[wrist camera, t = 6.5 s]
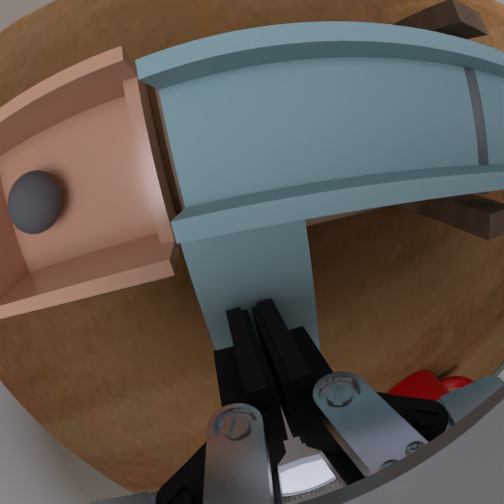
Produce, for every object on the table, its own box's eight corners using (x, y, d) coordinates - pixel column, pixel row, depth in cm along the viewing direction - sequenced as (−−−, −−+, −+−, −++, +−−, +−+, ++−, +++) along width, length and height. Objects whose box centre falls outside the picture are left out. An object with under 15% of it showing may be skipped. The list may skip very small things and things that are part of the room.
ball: (59, 156, 10) (-1, 179, 8) (75, 220, 11) (18, 246, 9) (50, 167, 12) (2, 187, 9) (64, 220, 13) (17, 242, 11)
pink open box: (146, 80, 11) (121, 45, 7) (182, 235, 14) (174, 275, 9) (-5, 152, 10) (-60, 159, 6) (31, 279, 13) (-11, 321, 8)
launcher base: (468, 65, 13) (549, 59, 5) (484, 182, 17) (564, 206, 9) (151, 63, 11) (104, -29, 3) (194, 250, 14) (192, 357, 7)
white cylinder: (226, 391, 18) (241, 475, 12) (319, 364, 19) (360, 438, 12) (247, 437, 21) (263, 504, 14) (322, 415, 21) (352, 476, 15)
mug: (450, 384, 25) (485, 421, 18) (371, 432, 25) (401, 482, 17) (463, 340, 23) (508, 379, 15) (375, 394, 22) (416, 454, 14)
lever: (555, 86, 6) (593, 89, 3) (552, 278, 10) (581, 300, 7) (150, 72, 8) (101, 44, 4) (232, 376, 12) (227, 437, 9)
